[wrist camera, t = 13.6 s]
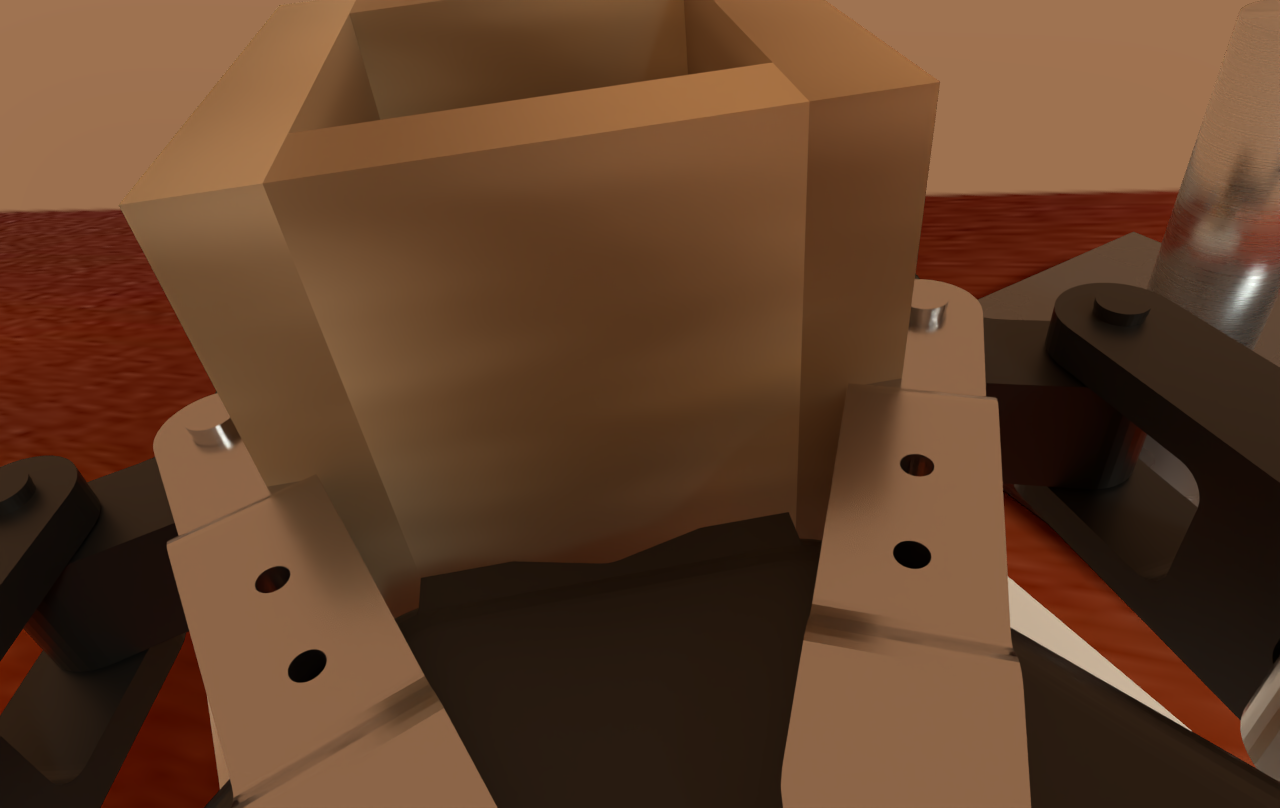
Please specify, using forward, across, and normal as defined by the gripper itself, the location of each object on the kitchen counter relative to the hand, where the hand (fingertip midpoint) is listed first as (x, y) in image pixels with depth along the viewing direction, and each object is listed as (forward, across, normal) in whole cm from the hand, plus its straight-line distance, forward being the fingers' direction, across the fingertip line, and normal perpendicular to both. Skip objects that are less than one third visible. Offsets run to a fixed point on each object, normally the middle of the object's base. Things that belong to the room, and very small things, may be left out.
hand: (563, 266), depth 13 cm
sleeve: (-2, 0, +6) cm, 6 cm away
